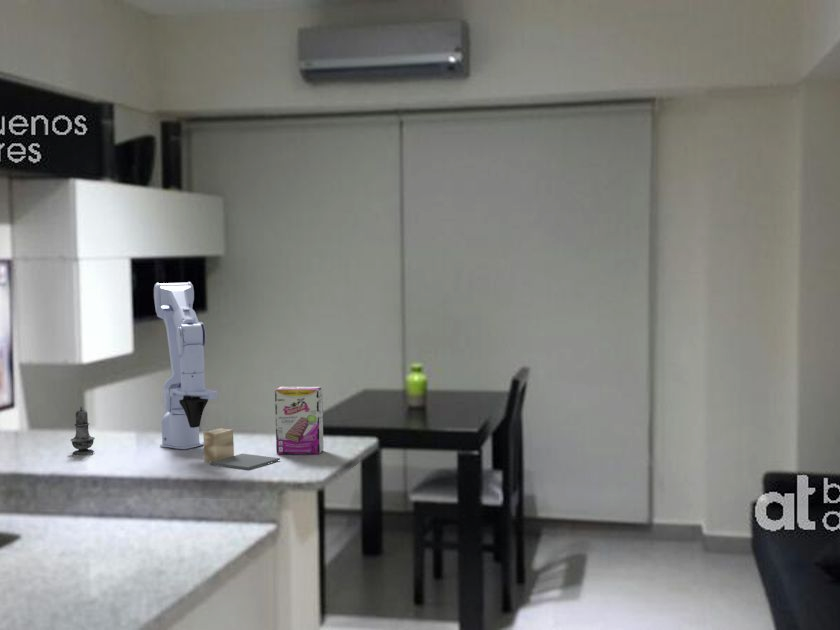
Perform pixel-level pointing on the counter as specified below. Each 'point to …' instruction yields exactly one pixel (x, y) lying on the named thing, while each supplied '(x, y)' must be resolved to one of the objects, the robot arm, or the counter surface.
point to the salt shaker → (82, 434)
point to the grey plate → (244, 461)
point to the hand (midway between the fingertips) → (194, 427)
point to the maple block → (218, 444)
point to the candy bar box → (299, 420)
